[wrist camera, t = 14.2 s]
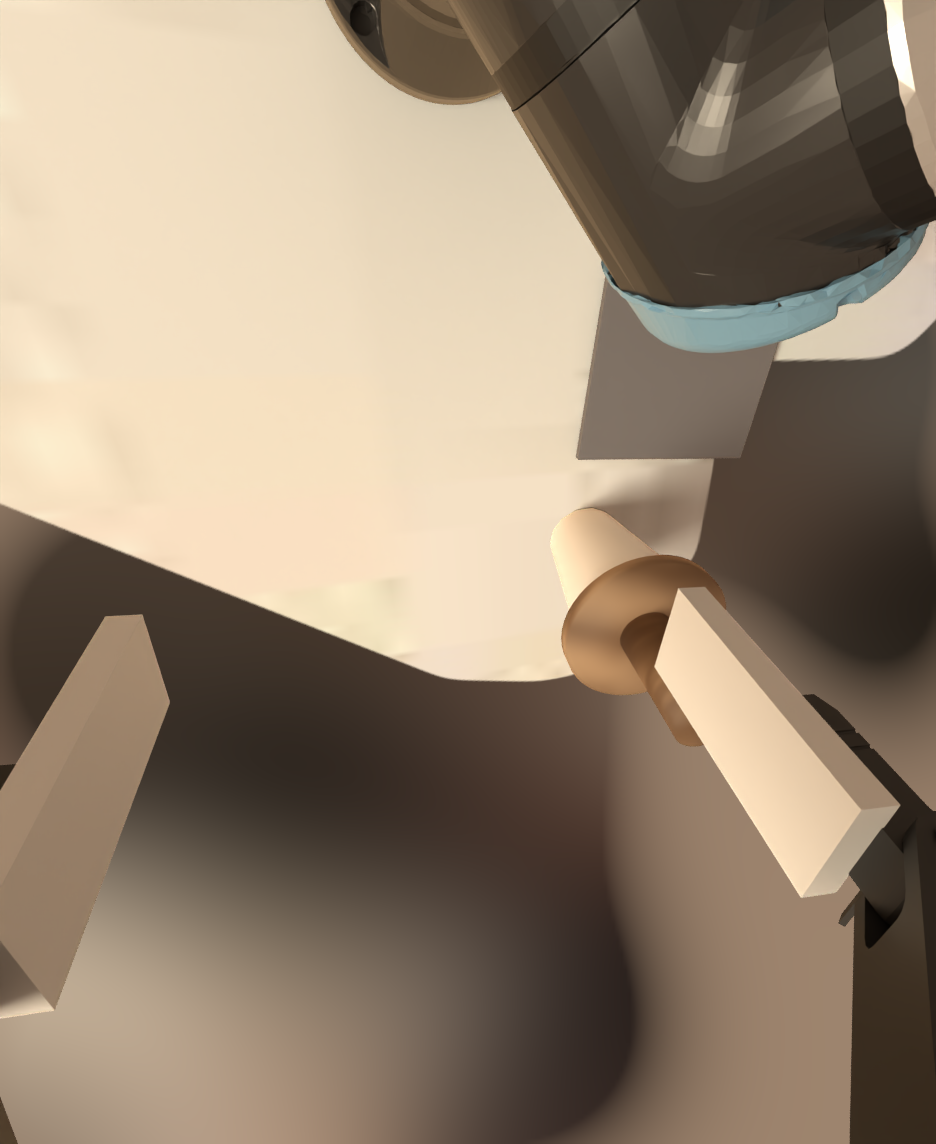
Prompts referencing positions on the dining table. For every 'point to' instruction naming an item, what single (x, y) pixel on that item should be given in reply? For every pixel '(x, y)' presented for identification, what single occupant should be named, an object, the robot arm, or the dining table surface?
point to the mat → (665, 393)
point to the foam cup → (591, 548)
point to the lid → (632, 631)
